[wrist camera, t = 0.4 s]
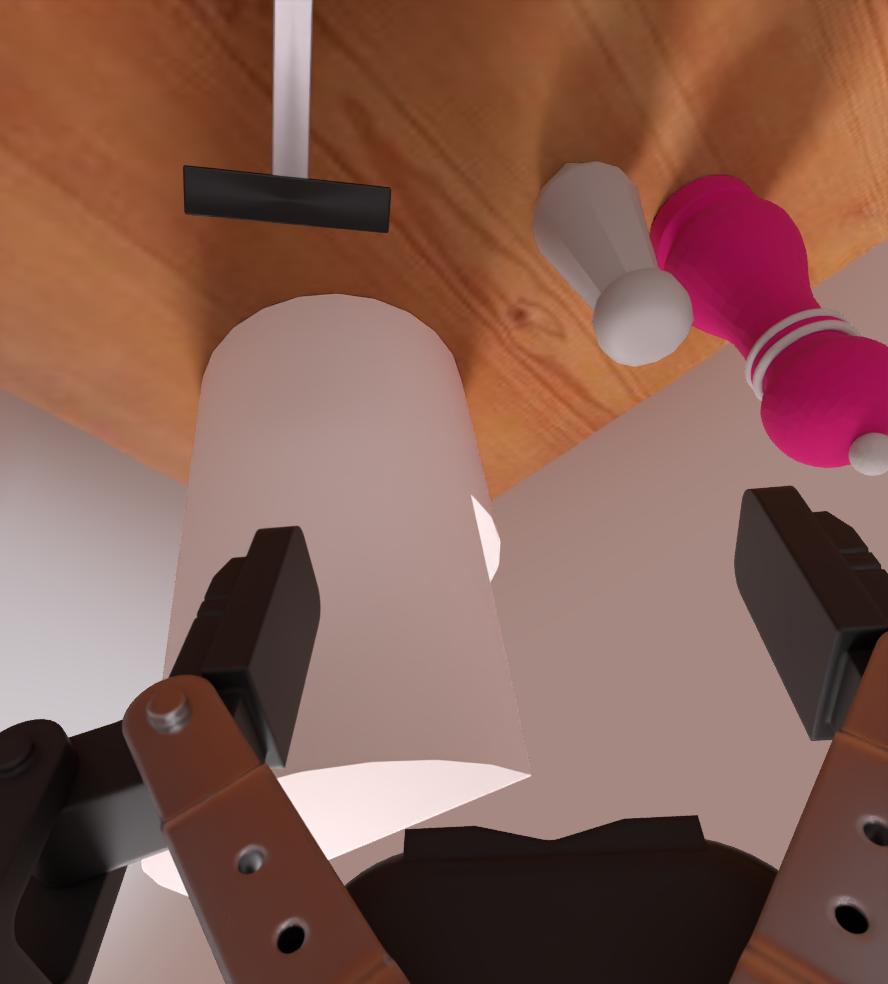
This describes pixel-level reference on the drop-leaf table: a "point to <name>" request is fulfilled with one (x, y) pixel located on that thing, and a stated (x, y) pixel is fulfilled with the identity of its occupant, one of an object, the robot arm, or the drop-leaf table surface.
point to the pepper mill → (777, 323)
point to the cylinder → (360, 560)
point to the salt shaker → (611, 261)
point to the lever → (288, 153)
